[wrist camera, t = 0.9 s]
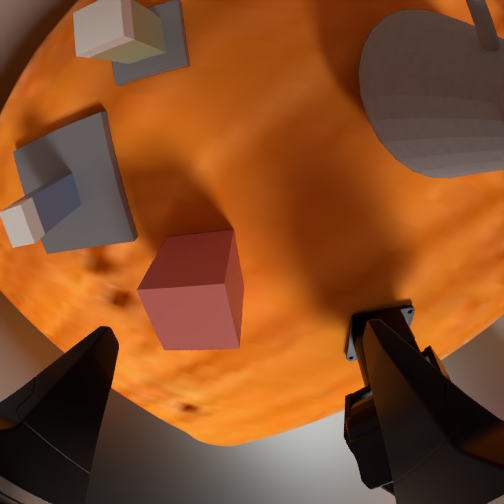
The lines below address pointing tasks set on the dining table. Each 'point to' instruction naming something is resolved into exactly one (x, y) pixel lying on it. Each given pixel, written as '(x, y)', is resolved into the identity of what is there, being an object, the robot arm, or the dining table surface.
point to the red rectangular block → (195, 292)
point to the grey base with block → (132, 37)
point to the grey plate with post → (70, 190)
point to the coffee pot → (436, 91)
